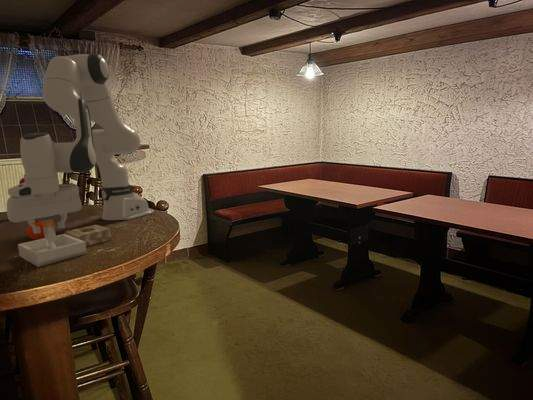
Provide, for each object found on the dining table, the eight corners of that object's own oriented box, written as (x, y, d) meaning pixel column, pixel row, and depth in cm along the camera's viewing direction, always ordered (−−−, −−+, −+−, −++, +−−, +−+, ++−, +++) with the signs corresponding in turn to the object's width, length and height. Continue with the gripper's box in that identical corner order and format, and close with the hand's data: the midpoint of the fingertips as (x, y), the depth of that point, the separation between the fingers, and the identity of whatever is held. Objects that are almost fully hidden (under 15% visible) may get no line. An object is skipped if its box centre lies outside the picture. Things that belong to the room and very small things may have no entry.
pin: (56, 249, 122) (51, 219, 120) (59, 251, 120) (55, 220, 118) (46, 252, 120) (40, 221, 117) (49, 254, 118) (44, 223, 116)
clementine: (21, 242, 136) (17, 223, 135) (35, 236, 143) (32, 218, 142) (41, 242, 135) (38, 223, 134) (54, 236, 142) (51, 218, 140)
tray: (65, 245, 130) (64, 233, 129) (86, 253, 120) (85, 241, 119) (19, 256, 120) (17, 244, 119) (38, 266, 110) (36, 253, 109)
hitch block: (96, 235, 142) (95, 224, 141) (111, 239, 135) (110, 228, 134) (66, 242, 134) (64, 231, 133) (79, 247, 126) (78, 236, 126)
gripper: (73, 181, 126) (79, 221, 128) (1, 190, 110) (9, 236, 113) (81, 182, 121) (87, 224, 124) (8, 192, 106) (16, 239, 109)
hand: (49, 230), depth 118 cm, fingers open, 6 cm apart
